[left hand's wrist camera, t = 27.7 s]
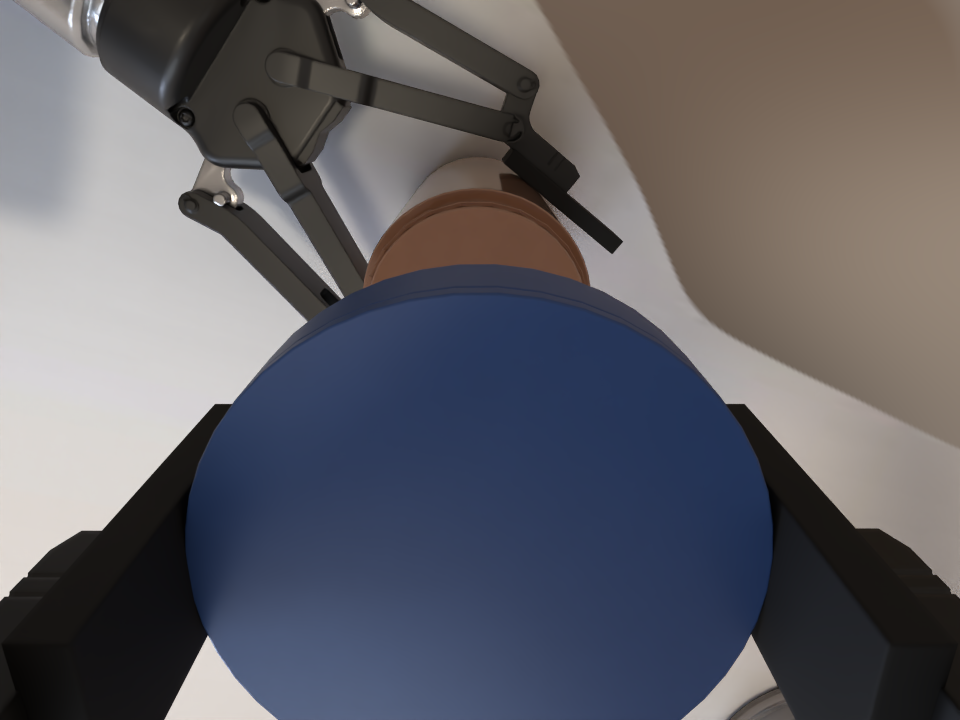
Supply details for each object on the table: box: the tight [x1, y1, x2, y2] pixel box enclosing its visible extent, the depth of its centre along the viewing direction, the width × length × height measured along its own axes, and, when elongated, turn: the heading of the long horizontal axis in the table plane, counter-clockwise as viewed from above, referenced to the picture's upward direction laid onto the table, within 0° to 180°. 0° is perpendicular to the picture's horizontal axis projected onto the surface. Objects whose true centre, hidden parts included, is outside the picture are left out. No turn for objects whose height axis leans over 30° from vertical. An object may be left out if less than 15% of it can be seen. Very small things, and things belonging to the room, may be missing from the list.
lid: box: [185, 264, 773, 720], centre depth 12 cm, size 9×9×2 cm
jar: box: [363, 157, 590, 288], centre depth 31 cm, size 8×8×17 cm
